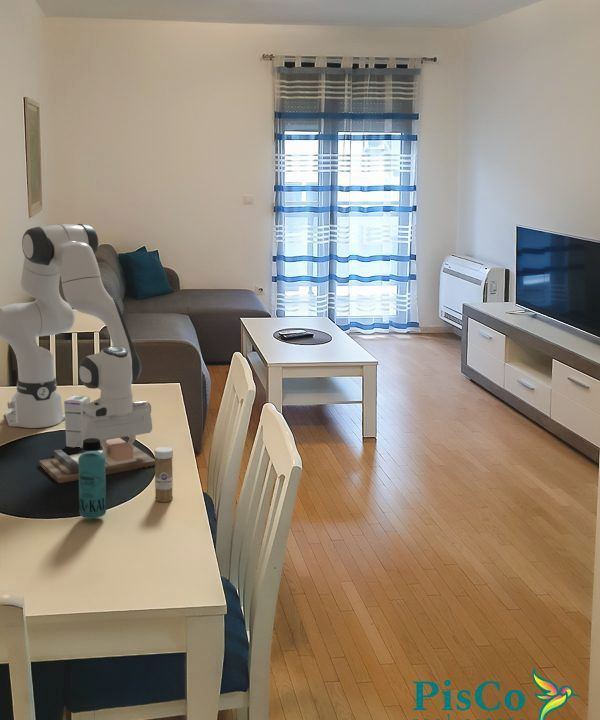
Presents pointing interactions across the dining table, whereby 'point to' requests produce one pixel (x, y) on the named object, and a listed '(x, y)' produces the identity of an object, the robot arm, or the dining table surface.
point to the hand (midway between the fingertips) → (117, 452)
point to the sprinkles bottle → (163, 474)
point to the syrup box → (74, 419)
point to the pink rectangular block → (118, 452)
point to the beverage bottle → (92, 480)
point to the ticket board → (108, 470)
